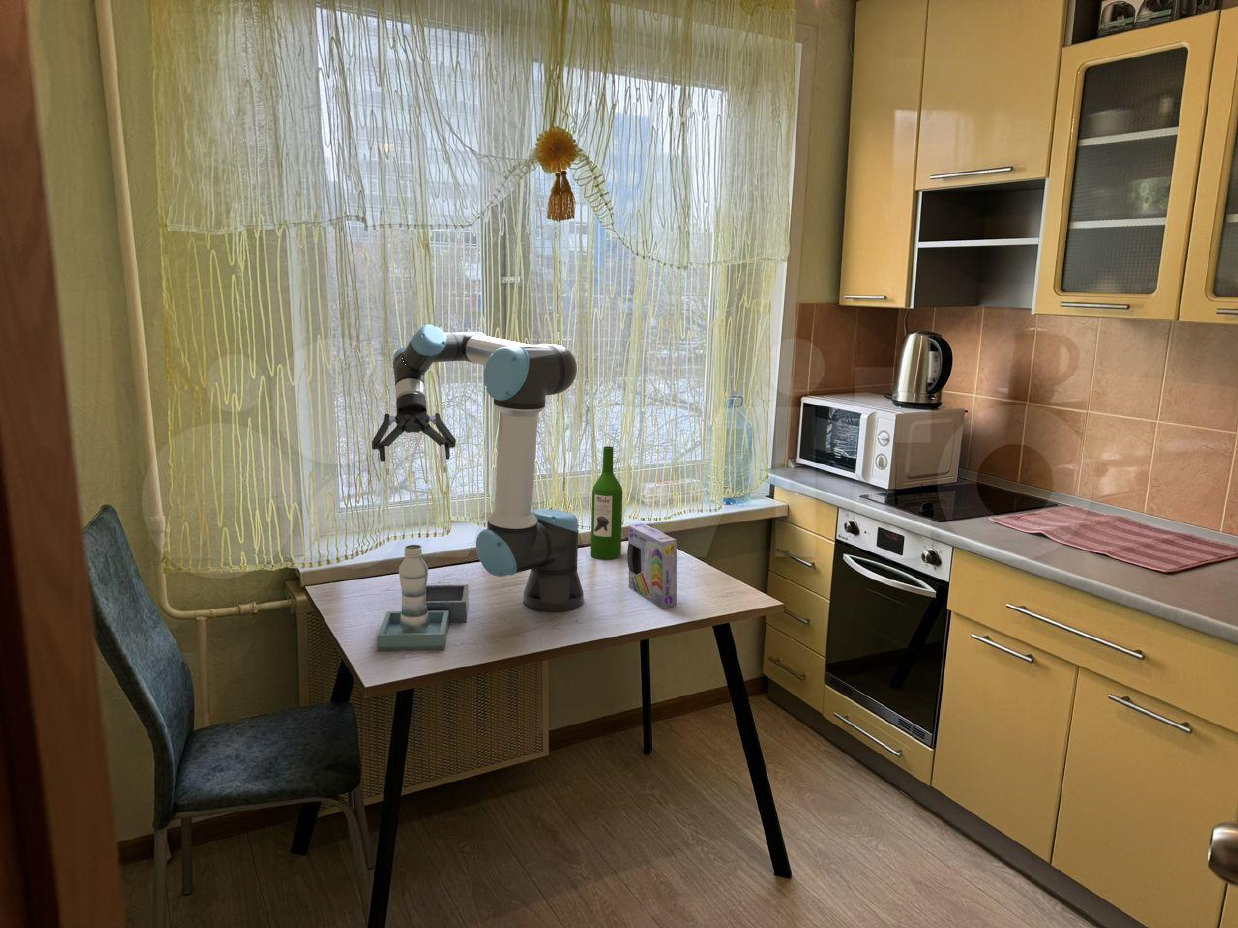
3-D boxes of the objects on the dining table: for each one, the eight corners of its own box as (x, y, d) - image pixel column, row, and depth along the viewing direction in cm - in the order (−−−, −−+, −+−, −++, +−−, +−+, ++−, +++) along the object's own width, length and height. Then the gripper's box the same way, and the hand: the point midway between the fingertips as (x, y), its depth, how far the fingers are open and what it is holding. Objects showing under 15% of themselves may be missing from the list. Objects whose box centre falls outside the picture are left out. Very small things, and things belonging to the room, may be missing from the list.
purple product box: (624, 585, 230) (626, 521, 226) (641, 583, 232) (643, 520, 228) (660, 610, 213) (663, 542, 209) (677, 607, 215) (680, 539, 212)
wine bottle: (587, 558, 251) (590, 449, 244) (593, 549, 260) (596, 443, 253) (617, 561, 250) (621, 450, 243) (622, 552, 258) (626, 445, 251)
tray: (448, 624, 201) (448, 610, 200) (444, 649, 187) (444, 634, 187) (387, 625, 199) (386, 611, 198) (377, 651, 186) (377, 635, 185)
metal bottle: (404, 640, 189) (402, 553, 184) (396, 629, 194) (394, 544, 190) (433, 636, 192) (432, 549, 187) (425, 625, 197) (423, 541, 193)
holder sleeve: (468, 603, 214) (468, 584, 213) (466, 622, 202) (466, 602, 201) (419, 604, 212) (419, 585, 211) (414, 623, 201) (413, 603, 200)
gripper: (459, 408, 228) (466, 476, 217) (360, 410, 220) (363, 480, 210) (461, 391, 222) (469, 460, 211) (359, 392, 214) (362, 463, 203)
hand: (416, 470), depth 210 cm, fingers open, 13 cm apart
